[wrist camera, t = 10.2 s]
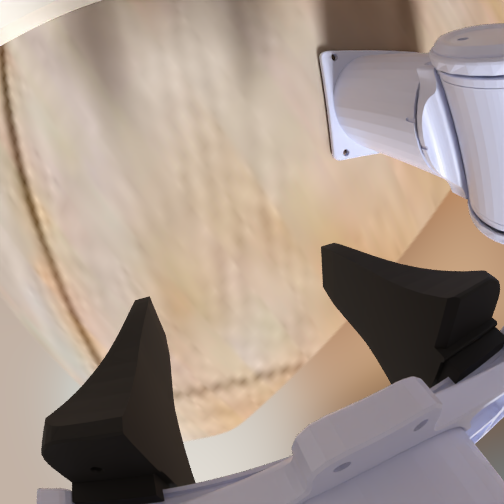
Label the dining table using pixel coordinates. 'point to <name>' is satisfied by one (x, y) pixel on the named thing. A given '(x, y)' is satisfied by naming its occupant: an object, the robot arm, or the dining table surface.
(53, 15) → the socket plate
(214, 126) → the dining table surface
